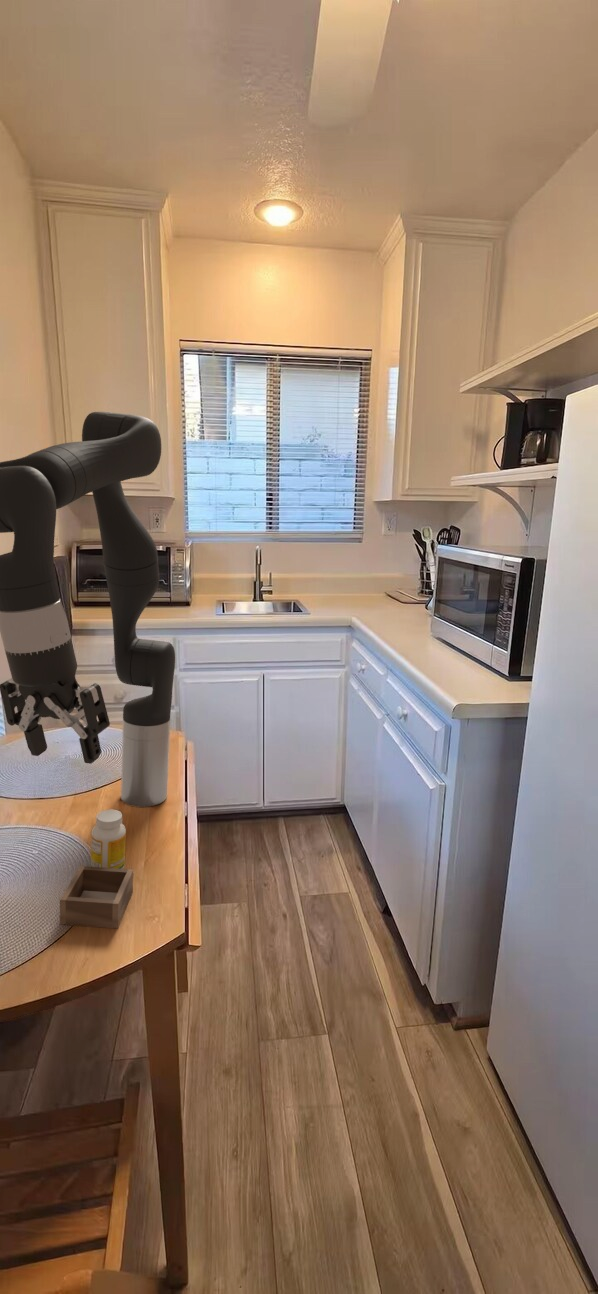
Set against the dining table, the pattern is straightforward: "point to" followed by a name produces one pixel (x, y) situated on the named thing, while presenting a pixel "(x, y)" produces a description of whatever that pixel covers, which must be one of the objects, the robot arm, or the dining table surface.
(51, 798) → the dining table surface
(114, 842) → the supplement bottle
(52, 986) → the dining table surface
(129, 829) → the dining table surface
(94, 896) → the holder
